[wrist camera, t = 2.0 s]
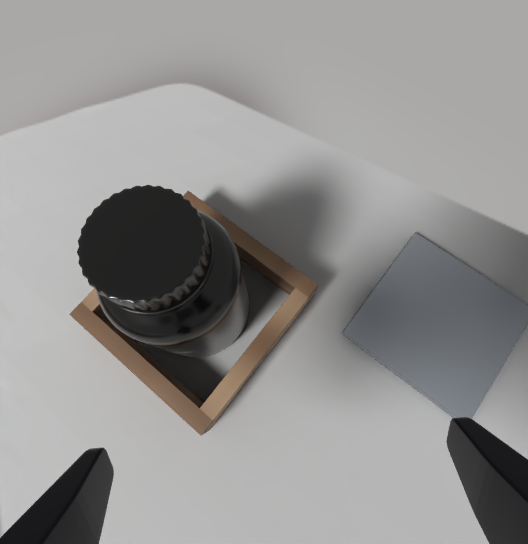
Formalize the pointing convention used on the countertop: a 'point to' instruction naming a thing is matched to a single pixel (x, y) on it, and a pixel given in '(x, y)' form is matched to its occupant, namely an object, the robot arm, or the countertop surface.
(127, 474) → the countertop surface
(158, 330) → the supplement bottle
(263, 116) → the countertop surface
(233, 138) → the countertop surface
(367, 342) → the slate mat
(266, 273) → the walnut holder
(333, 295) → the countertop surface
